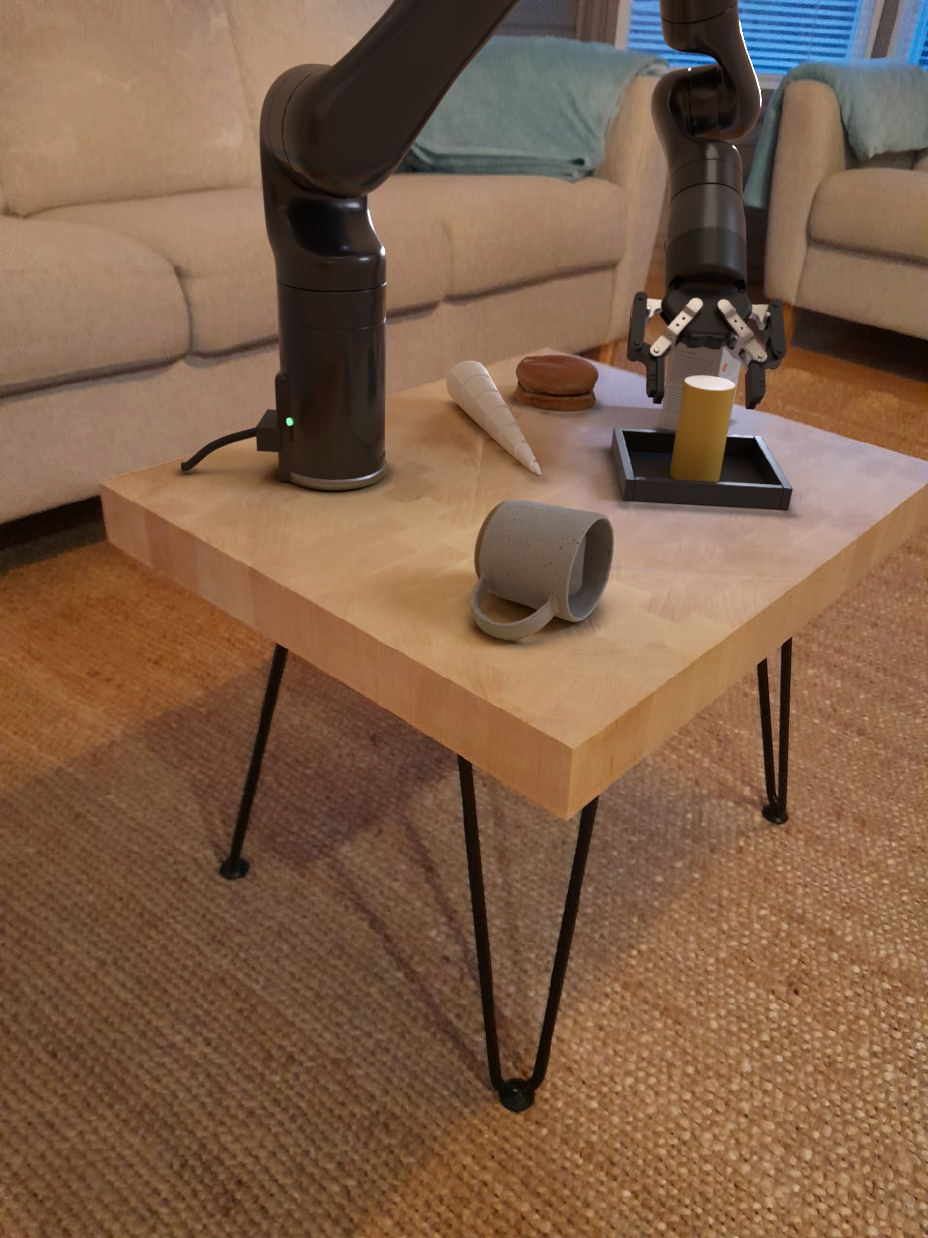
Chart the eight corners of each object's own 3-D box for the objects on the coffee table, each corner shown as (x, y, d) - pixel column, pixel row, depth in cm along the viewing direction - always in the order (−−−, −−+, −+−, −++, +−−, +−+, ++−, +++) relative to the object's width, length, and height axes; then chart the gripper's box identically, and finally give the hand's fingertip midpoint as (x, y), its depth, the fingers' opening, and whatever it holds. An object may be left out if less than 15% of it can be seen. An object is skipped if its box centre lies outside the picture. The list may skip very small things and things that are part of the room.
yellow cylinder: (673, 484, 96) (687, 388, 92) (666, 466, 100) (680, 373, 96) (723, 487, 96) (740, 391, 92) (714, 468, 100) (730, 376, 96)
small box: (683, 411, 116) (697, 316, 111) (731, 421, 114) (748, 324, 109) (656, 431, 110) (670, 330, 105) (707, 442, 108) (724, 340, 103)
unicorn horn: (500, 482, 96) (504, 432, 93) (444, 401, 116) (445, 358, 113) (550, 480, 97) (554, 430, 94) (485, 400, 117) (487, 358, 114)
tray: (622, 505, 92) (625, 479, 91) (610, 451, 104) (613, 427, 103) (787, 515, 92) (793, 488, 91) (756, 459, 104) (761, 435, 103)
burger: (599, 416, 113) (603, 374, 111) (513, 412, 113) (516, 370, 111) (593, 389, 122) (597, 350, 120) (513, 385, 122) (516, 346, 120)
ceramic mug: (513, 567, 81) (519, 474, 77) (610, 596, 77) (622, 501, 73) (441, 625, 73) (444, 526, 69) (545, 661, 69) (554, 558, 65)
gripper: (636, 219, 96) (633, 378, 91) (792, 227, 95) (796, 387, 91) (624, 267, 103) (621, 417, 99) (769, 275, 103) (772, 425, 98)
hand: (705, 403), depth 95 cm, fingers open, 8 cm apart
